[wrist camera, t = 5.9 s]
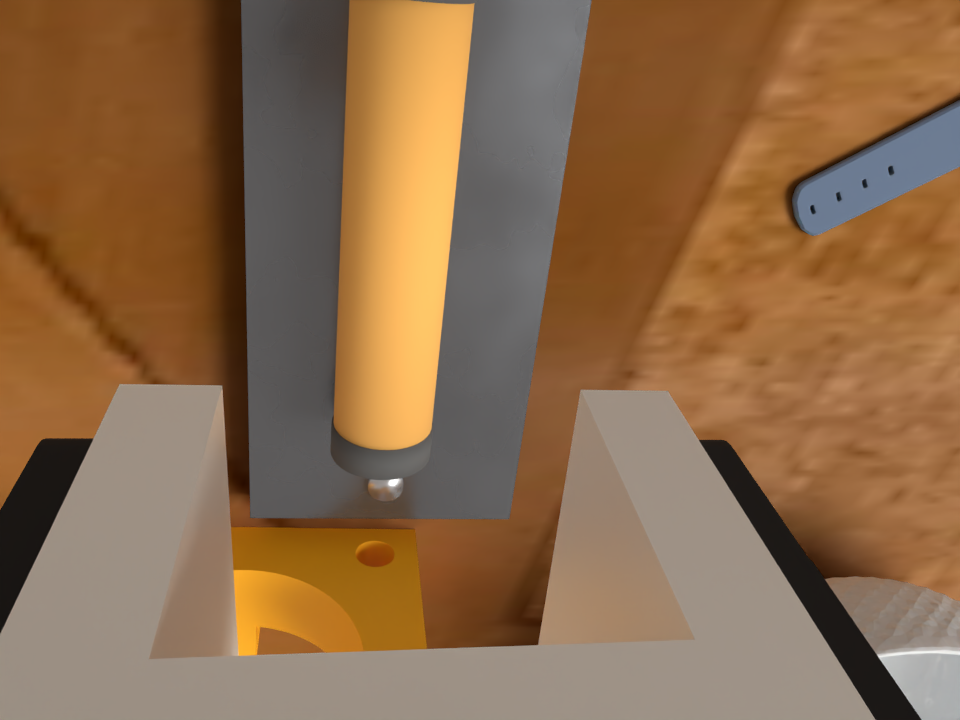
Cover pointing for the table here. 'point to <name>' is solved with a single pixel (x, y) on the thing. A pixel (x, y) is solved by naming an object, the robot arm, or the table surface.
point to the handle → (396, 227)
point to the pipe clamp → (329, 587)
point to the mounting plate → (471, 267)
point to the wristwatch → (880, 172)
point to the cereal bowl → (910, 638)
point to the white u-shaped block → (423, 672)
